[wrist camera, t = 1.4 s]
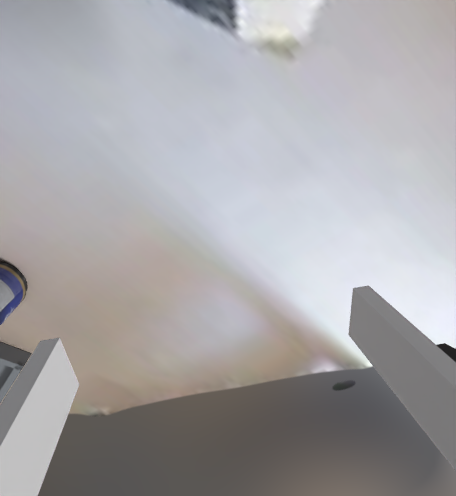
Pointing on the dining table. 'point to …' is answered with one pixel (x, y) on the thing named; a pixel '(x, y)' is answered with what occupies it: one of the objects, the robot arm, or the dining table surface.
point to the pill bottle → (10, 289)
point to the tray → (10, 366)
